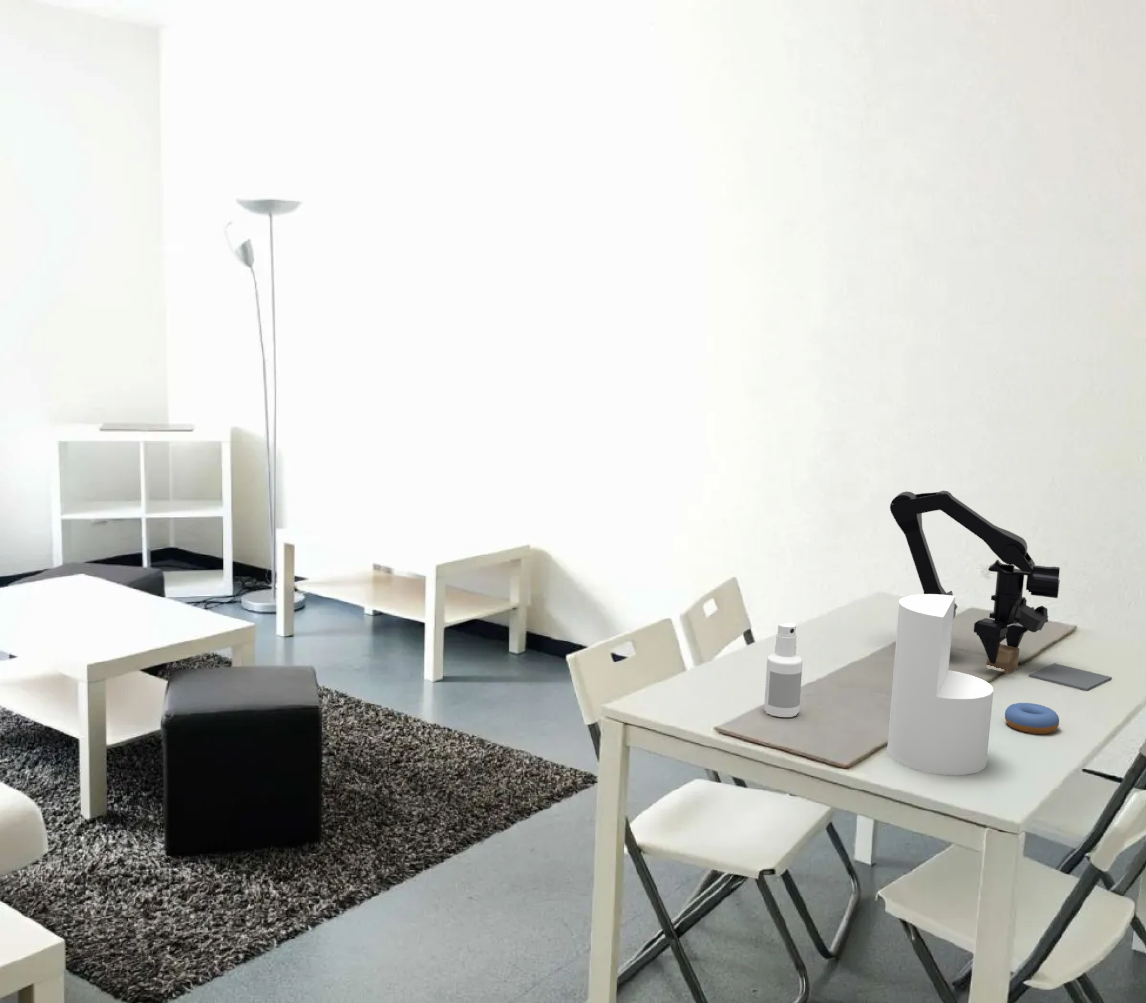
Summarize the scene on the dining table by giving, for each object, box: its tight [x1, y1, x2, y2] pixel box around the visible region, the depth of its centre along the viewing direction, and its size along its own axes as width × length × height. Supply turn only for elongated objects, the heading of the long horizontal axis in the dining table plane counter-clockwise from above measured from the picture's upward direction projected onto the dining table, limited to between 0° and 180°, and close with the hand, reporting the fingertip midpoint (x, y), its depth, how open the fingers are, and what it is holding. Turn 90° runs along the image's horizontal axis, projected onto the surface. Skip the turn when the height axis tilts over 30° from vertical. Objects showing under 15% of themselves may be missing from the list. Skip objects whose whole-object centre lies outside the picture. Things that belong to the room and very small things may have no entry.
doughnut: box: [1004, 702, 1060, 735], centre depth 235 cm, size 10×10×5 cm
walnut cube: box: [986, 643, 1020, 674], centre depth 273 cm, size 5×5×5 cm
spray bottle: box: [763, 622, 804, 715], centre depth 237 cm, size 7×7×18 cm
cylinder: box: [886, 593, 994, 776], centre depth 216 cm, size 17×17×28 cm
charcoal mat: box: [1028, 662, 1113, 692], centre depth 268 cm, size 13×13×1 cm
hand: (1002, 659), depth 273 cm, fingers open, 9 cm apart
